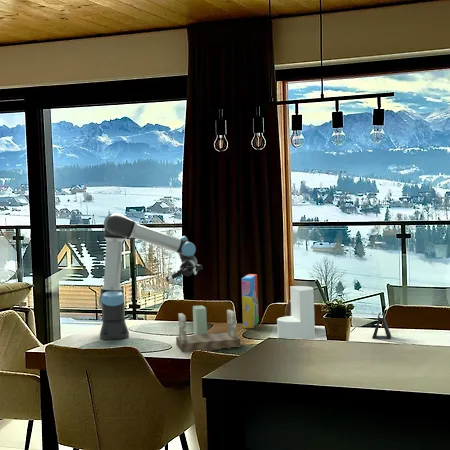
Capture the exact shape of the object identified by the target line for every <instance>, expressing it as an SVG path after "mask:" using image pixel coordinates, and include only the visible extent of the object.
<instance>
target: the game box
mask: <svg viewBox="0 0 450 450" xmlns="http://www.w3.org/2000/svg"><path fill="white" fill-rule="evenodd" d="M241 305H242V307H241V308H242V328H243V329H254V328H255V326H257V324H258V323H259V322H260V321H259V318H260V317H259V288H258V274H256V273H255V274H254V273H248V274H246V275H244V277H242V278H241Z"/></svg>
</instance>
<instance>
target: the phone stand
mask: <svg viewBox="0 0 450 450" xmlns="http://www.w3.org/2000/svg"><path fill="white" fill-rule="evenodd" d="M380 315H381V316H382V317H380ZM381 322H382V324H383V329H384V332H385V335H378V330H379V326H380V323H381ZM389 328H390V327H389V326H388V324H387V321H386V317H385V313H384V312H382V313H381V312H379V313H378V314H377V322H376V326H375V328H374V331H373V334H372V337H371V338H372V339H373V340H391V339H392V333H391V331H390V329H389Z"/></svg>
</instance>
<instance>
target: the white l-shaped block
mask: <svg viewBox="0 0 450 450" xmlns="http://www.w3.org/2000/svg"><path fill="white" fill-rule="evenodd" d="M289 288H290V289H289V290H290V300H291V316H286V315H285V316H282V317H278V318H277V319H276V325H277V327H276V329H277V339H278V338H301V339H315V340H316V331H315V330H316V328H315V327H316V325H315V317H314V309H315V296H314V287H312V286H309V285H307V286H306V285H304V286H303V285H293V286H292V285H290V286H289Z"/></svg>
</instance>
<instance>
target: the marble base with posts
mask: <svg viewBox="0 0 450 450" xmlns="http://www.w3.org/2000/svg"><path fill="white" fill-rule="evenodd" d="M177 314H178V336H176V337H175V339H176V341H175V343H176V346H177V348H178V349H179V350H180V352H181V353H189V352H195V351H194V350H203V351H214V350H222V349H221V348H227V349H231V348H230V347H237V346H241V338H240V337H238V336H237V321H236V320H237V319H236V312H235V311H233V310H232V309H227V310H226V322H227V325H226V327H227V332H220V333H218V332H217V333H207V334H204V335H194V334H193V335H187V317H186V315H185V314H184V313H183V312H180V313H177Z"/></svg>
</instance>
